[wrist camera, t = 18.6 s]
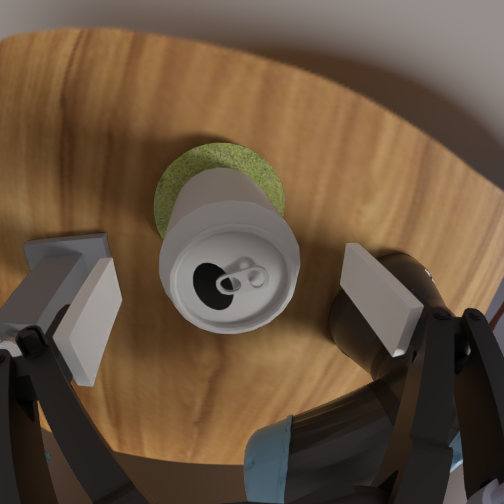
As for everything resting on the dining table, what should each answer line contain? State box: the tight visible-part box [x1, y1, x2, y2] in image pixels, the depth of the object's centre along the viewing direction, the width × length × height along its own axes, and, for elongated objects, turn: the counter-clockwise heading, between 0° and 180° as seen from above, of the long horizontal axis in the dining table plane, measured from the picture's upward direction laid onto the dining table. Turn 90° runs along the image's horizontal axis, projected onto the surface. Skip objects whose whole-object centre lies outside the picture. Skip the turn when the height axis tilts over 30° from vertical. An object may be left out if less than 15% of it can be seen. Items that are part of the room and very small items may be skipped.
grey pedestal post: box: [0, 233, 122, 340], centre depth 21 cm, size 10×8×12 cm
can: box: [159, 167, 300, 334], centre depth 19 cm, size 8×8×12 cm
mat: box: [153, 143, 285, 240], centre depth 25 cm, size 11×11×2 cm
